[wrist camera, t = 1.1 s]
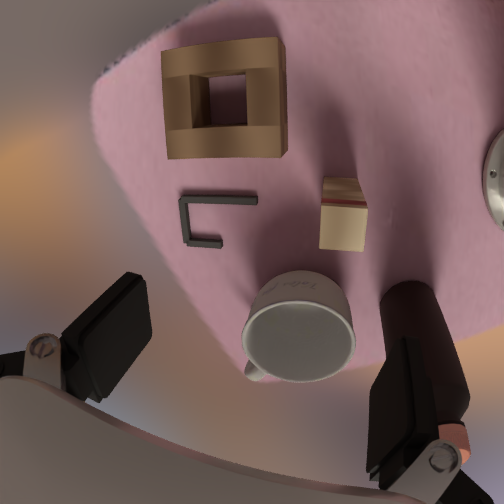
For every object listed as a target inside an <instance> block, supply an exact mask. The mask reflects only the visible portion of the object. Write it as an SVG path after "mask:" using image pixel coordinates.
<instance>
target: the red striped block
mask: <svg viewBox="0 0 504 504" xmlns="http://www.w3.org/2000/svg"><path fill="white" fill-rule="evenodd" d="M367 215H368V207H367V203H366V201H365V198H364V196H363V193H362V190H361V187H360V184H359V181H358V179H353V178H339V177H324V182H323V193H322V200H321V220H320V239H319V249H330V250H344V251H357V252H363V250H364V242H365V233H366V224H367Z"/></svg>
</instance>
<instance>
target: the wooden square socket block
mask: <svg viewBox="0 0 504 504" xmlns="http://www.w3.org/2000/svg"><path fill="white" fill-rule="evenodd" d="M161 70H162V90H163V107H164V121H165V134H166V146H167V156H168V159H190V158H230V157H262V158H281V157H282V156H283V155H284V154H285V153H286V152H287V151H288V125H287V83H286V54H285V46H284V45H283V43H282V42H281V41H280V40H279V38H278V37H264V38H249V39H238V40H228V41H220V42H212V43H205V44H198V45H192V46H186V47H181V48H175V49H170V50H165V51H161ZM243 74H246V94H247V120H248V123H236V124H214V125H211V117H210V98H209V77H219V76H230V75H243Z"/></svg>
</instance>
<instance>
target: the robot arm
mask: <svg viewBox="0 0 504 504" xmlns="http://www.w3.org/2000/svg"><path fill="white" fill-rule="evenodd" d="M490 172H491V174H490ZM483 192H484V198H485V202H486V206H487V209H488V211H489V213H490V215H491V217H492V218H493V220H494V221H495V223H496V224H497V225H498V226H499V227H500V228H501V229H502V230H503V231H504V129H503V130H502V131H501V132H499V134H498V135H497V136H496V138H495V139H494V141H493V142H492V144H491V146H490V148H489V151H488V154H487V157H486V160H485V165H484V171H483ZM61 334H62V336H61V337H60V338H58V337H57V336H55V335H54V334H50V333H43V334H39V335H37V336H35V337H34V338H32V339H31V340H30V341H29V343H28V344H27V347H26V350H25V351H20V352H14V353H8V354H2V355H0V504H494V502H493V500H492V498H491V497H490V496H489V495H488V494H487V493H486V492H485V491H484V490H482V489H481V488H480V487H479V486H478V485H477V484H476V483H475V482H474V481H473V480H471V479H470V478H469V477H468V476H467V475H466V474H465V473H464V472H463V471H462V470H461V469H460V467H461V465H462V455H461V452H460V450H459V448H458V447H457V446H456V445H455V444H454V443H452V442H451V441H449V440H445V439H440V437H439V428H438V420H437V412H436V405H435V399H434V393H433V386H432V381H431V378H430V377H429V376H426V371H425V366H424V360H423V355H422V350H421V345H420V341H419V338H418V337H412V336H406V335H403V336H402V337H401V339H399V338H397V339H396V341H395V343H394V345H393V347H392V349H391V351H390V353H389V355H388V357H387V359H386V361H385V362H384V364H383V366H382V368H381V370H380V372H379V374H378V376H377V378H376V379H375V381H374V383H373V385H372V387H371V390H370V396H369V430H368V449H367V463H366V472H367V473H370V481H379V488H380V489H379V490H378V489H370V488H364V487H355V486H347V485H339V484H332V483H325V482H319V481H313V480H307V479H302V478H296V477H291V476H286V475H281V474H276V473H272V472H268V471H263V470H259V469H255V468H251V467H248V466H244V465H240V464H237V463H233V462H229V461H226V460H222V459H219V458H216V457H213V456H209V455H206V454H204V453H200V452H198V451H195V450H192V449H189V448H186V447H183V446H181V445H178V444H175V443H173V442H170V441H168V440H165V439H163V438H160V437H158V436H155V435H153V434H150V433H148V432H146V431H143V430H141V429H139V428H136V427H134V426H131V425H130V424H128V423H125V422H123V421H121V420H119V419H117V418H115V417H113V416H111V415H109V414H107V413H105V412H103V411H101V410H99V409H96V408H95V407H92V406H91V405H89V404H87V403H85V400H86V399H87V398H90V399H92V400H94V401H95V402H97V403H100V402H101V400H102V399H103V398H107V397H108V396H109V395H110V393H111V392H112V391H113V389H114V387H115V386H116V385H117V384H118V382H119V381H120V379H121V378H122V377H123V376H124V374H125V373H126V372H127V370H128V369H129V368H130V366H131V365H132V364H133V362H134V361H135V359H136V358H137V357H138V355H139V354H140V353H141V351H142V350H143V349H144V348H145V346H146V345H147V344H148V342H149V341H150V339H151V337H152V327H151V319H150V312H149V304H148V295H147V287H146V282H145V280H143V277H142V276H141V275H138V274H135V273H132V272H126V273H125V274H124V275H123V276H122V277H120V278H119V279H118V280H117V281H116V282H115V283H114V284H113V285H112V286H111V287H109V288H108V289H107V290H106V291H105V292H104V293H103V294H102V295H101V296H100V297H99V298H98V299H97V300H96V301H94V302H93V303H92V304H91V305H90V306H89V307H88V308H87V309H86V310H85V311H84V312H83V313H82V314H81V315H80V316H79V317H78V318H77V319H75V320H74V322H72V323H71V324H70V325H69V326H68V327H67V328H66V329H65V330H64V331H63V332H62V333H61Z"/></svg>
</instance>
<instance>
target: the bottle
mask: <svg viewBox="0 0 504 504" xmlns="http://www.w3.org/2000/svg"><path fill="white" fill-rule="evenodd" d="M380 316H381V322H382V329H383V336H384V343H385V351H386V359H387V357H388V355H389V353H390V351H391V349H392V347H393V345H394V343H395V341H396V339H397V338H399V339H401V337H402V336H403V335H406V336H412V337H418V338H419V341H420V345H421V350H422V355H423V360H424V366H425V371H426V376H429V377H430V378H431V381H432V386H433V393H434V399H435V405H436V412H437V420H438V428H439V437H440V439H445V440H449V441H451V442H452V443H454V444H455V445H456V446H457V447H458V448H459V450H460V452H461V455H462V464H464V463H465V462H466V461H467V459H468V458H469V456H470V454H471V451H470V445H469V440H468V435H467V430H466V428H465V425H464V422H462V421H460V419H461V418H462V416H463V414H464V413H465V411H466V410H467V408H468V406H469V401H470V393H469V390H468V386H467V383H466V379H465V377H464V373H463V370H462V367H461V364H460V361H459V358H458V355H457V352H456V349H455V346H454V343H453V340H452V338H451V335H450V332H449V329H448V327H447V324H446V322H445V319H444V316H443V314H442V311H441V309H440V306H439V304H438V302H437V299H436V297H435V295H434V292H433V290H432V289H431V288H430V287H429V286H428V285H426V284H425V283H422V282H419V281H406V282H401V283H399V284H397V285H395V286H394V287H392V288H391V289H390V290H389V291H388V292H387V293H386V294H385V296H384V297H383V299H382V301H381V305H380Z"/></svg>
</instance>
